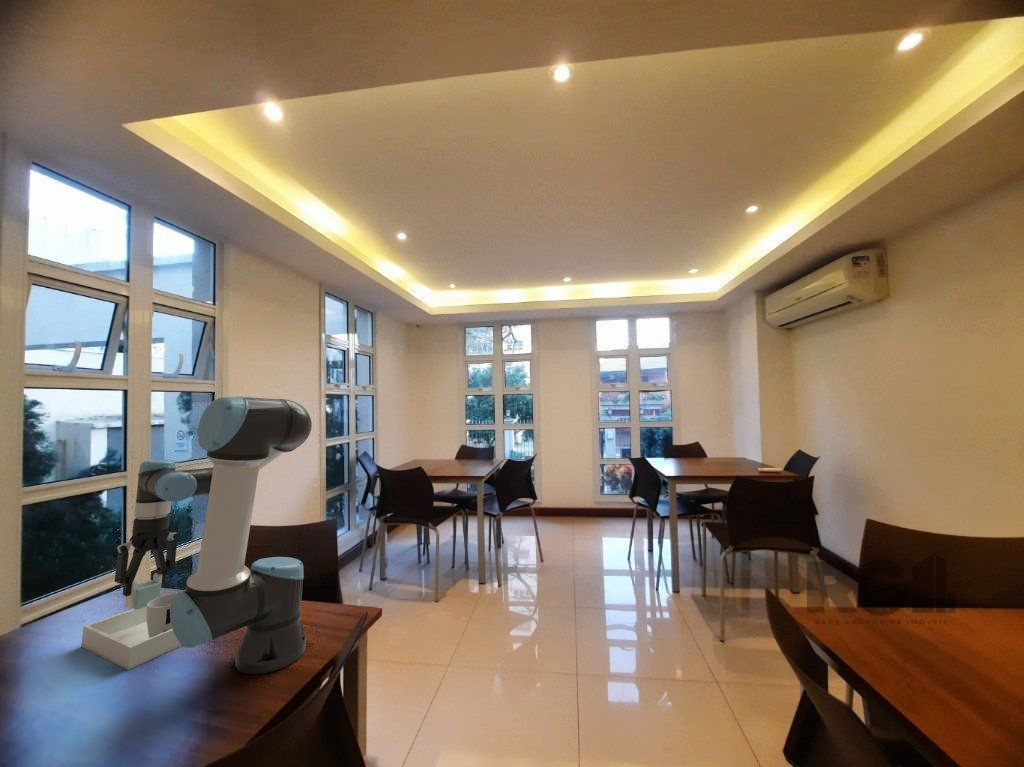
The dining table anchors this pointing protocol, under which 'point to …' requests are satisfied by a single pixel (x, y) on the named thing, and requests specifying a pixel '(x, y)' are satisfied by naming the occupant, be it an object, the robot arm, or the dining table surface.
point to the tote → (127, 639)
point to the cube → (146, 593)
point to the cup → (159, 615)
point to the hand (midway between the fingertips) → (142, 602)
